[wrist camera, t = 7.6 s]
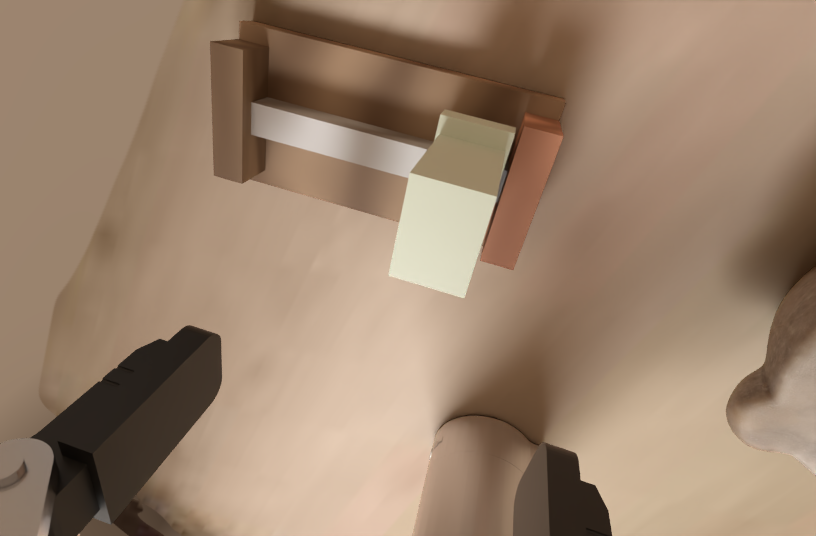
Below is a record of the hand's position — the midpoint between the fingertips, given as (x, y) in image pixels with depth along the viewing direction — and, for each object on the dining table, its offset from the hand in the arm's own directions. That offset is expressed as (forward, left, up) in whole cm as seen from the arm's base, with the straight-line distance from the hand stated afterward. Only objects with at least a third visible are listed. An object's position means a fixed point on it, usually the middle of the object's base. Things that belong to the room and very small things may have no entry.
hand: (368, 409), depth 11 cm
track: (+6, 0, -22) cm, 23 cm away
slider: (0, 0, -20) cm, 20 cm away
